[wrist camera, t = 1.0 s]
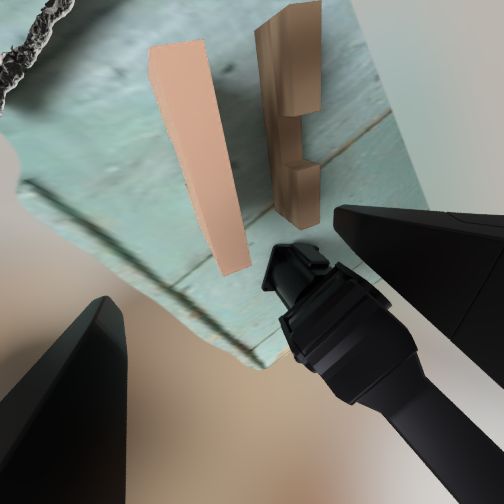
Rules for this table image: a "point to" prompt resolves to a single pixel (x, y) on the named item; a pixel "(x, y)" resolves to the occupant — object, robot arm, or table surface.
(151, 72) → the crosspiece
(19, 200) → the table surface
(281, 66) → the cross rail
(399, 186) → the table surface
